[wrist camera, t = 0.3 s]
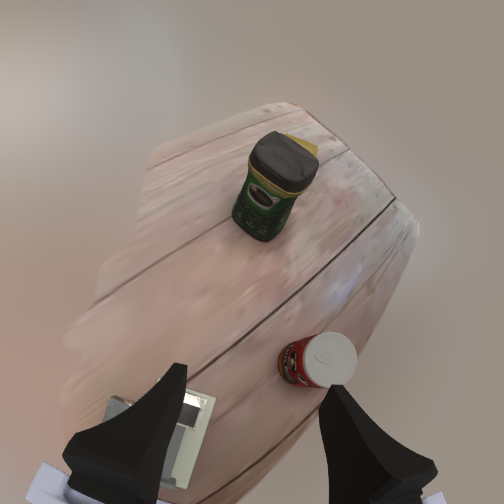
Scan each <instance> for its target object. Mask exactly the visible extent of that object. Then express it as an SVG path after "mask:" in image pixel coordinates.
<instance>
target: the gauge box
mask: <svg viewBox="0 0 504 504" xmlns="http://www.w3.org/2000/svg"><path fill="white" fill-rule="evenodd" d="M133 404H134V403H133V402H131V401H128V400H124V399H122V398H120V397H118V396H112V397H110V399H109V402H108V406H107V409H106V412H105V416H104V419H103V422H105V421H107V420H109V419H111V418H113V417H115V416H117V415H118V414H120V413H121V412H123V411H125V410H126V409H127V408H129V407H130V406H132V405H133Z"/></svg>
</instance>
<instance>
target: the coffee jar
mask: <svg viewBox="0 0 504 504" xmlns="http://www.w3.org/2000/svg"><path fill="white" fill-rule="evenodd" d="M318 166H319V162H318V160H317V158H316V157H315V156H314V155H313V154H312V153H311V152H309V151H308V150H307V149H305V148H304V147H302V146H301V145H300V144H298V143H297V142H295V141H294V140H292V139H291V138H289V137H287V136H285V135H283V134H281V133H278V132H276V131H273V132H271V133H269V134H267V135H266V136H264V137H263V138H261V139H260V140H259V141H258V142H257V144H256V145H255V147H254V148H253V150H252V152H251V154H250V155H249V158H248V175H247V178H246V181H245V183H244V185H243V188H242V190H241V192H240V194H239V196H238V198H237V200H236V202H235V204H234V207H233V210H232V214H233V217H234V219H235V220H236V222H237V223H238V224H239V225H240V226H241V227H243V228H244V229H245V230H246V231H247V232H249V233H250V234H251V235H253V236H254V237H256V238H258V239H260V240H264V241H266V240H271V239H273V238H274V237H275V236H277V235H278V234H279V232H280V231H281V230H282V228H283V227H284V225H285V223H286V221H287V219H288V217H289V214H290V212H291V209H292V207H293V205H294V202H295V200H296V199H297V197H298V196H299V195H301V194H302V193H303V192H305V191H306V190H307V189H308V187H309V186H310V185H311V183H312V182H313V180H314V177H315V175H316V172H317V169H318Z"/></svg>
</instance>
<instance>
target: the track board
mask: <svg viewBox="0 0 504 504" xmlns="http://www.w3.org/2000/svg"><path fill="white" fill-rule="evenodd" d="M159 380H160V378H158V381H159ZM158 381H157V382H158ZM186 393H188V394H191V395H194V396H197V397H198V396H200V397H203V398H205V399H207V401H206V404H205V407H204V410H203V414H202V417H201V420H200V423H199V426H198V429H197V431H195V430H192V429H189V428H186V427H183V426H180V425H177V424H176V427H175V429H174V432H173V435H172V438H171V440H170V443H169V446H168V449H167V453H166V458H165V462H164V467H163V471H162V476H161V481H160V487H163V488H167V489H170V490H173V491H174V489H175V486H177V487H180V488H184V489H187V486H188V483H189V480H190V477H191V474H192V471H193V468H194V465H195V462H196V459H197V456H198V453H199V450H200V447H201V444H202V441H203V438H204V435H205V431H206V428H207V425H208V422H209V419H210V416H211V413H212V410H213V407H214V404H215V400H216V398H215V397H212V396H209V395H206V394H202V393H199V392H196V391H193V390H190V389H187V388H186Z"/></svg>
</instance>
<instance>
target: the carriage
mask: <svg viewBox="0 0 504 504" xmlns="http://www.w3.org/2000/svg"><path fill="white" fill-rule="evenodd" d="M206 401H207V399H205V398H203V397H200V396H198V397H197V396H194V395H191V394H188V393H186V394H185V398H184V402H183V406H182V410H181V413H180V416H179V419H178V421H177V425H180V426H183V427H186V428H189V429H192V430H195V431H197V429H198V426H199V423H200V420H201V417H202V414H203V410H204V407H205V404H206Z"/></svg>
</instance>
